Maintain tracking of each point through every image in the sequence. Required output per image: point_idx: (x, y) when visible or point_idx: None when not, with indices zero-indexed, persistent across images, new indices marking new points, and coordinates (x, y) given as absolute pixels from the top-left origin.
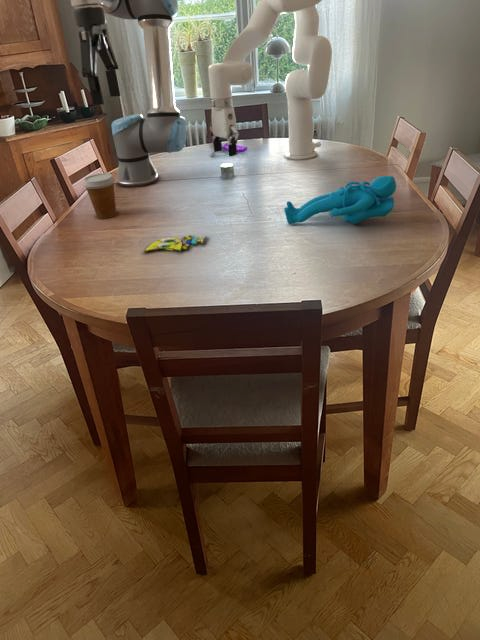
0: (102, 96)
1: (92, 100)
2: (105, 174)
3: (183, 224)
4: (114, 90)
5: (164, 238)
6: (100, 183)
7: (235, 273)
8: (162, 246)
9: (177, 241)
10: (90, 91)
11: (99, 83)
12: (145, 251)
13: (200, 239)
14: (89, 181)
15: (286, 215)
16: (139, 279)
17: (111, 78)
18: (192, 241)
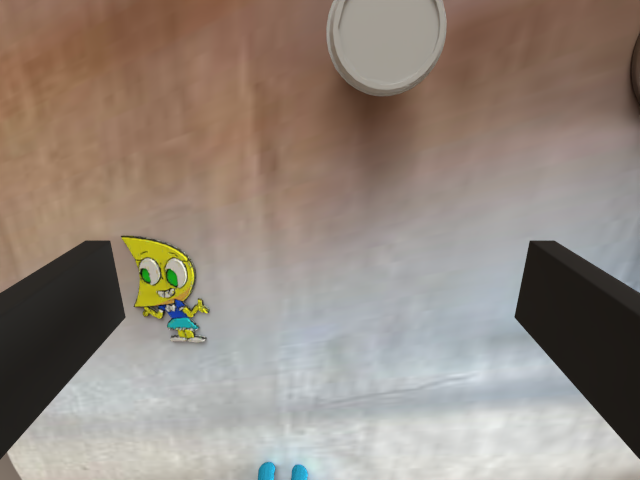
0: (89, 351)
1: (65, 254)
2: (435, 45)
3: (282, 281)
4: (545, 309)
5: (181, 266)
6: (336, 60)
7: (69, 399)
8: (146, 269)
9: (167, 296)
10: (6, 291)
11: (7, 438)
12: (122, 238)
13: (185, 335)
14: (339, 10)
15: (258, 476)
16: (12, 255)
17: (629, 377)
18: (176, 321)
